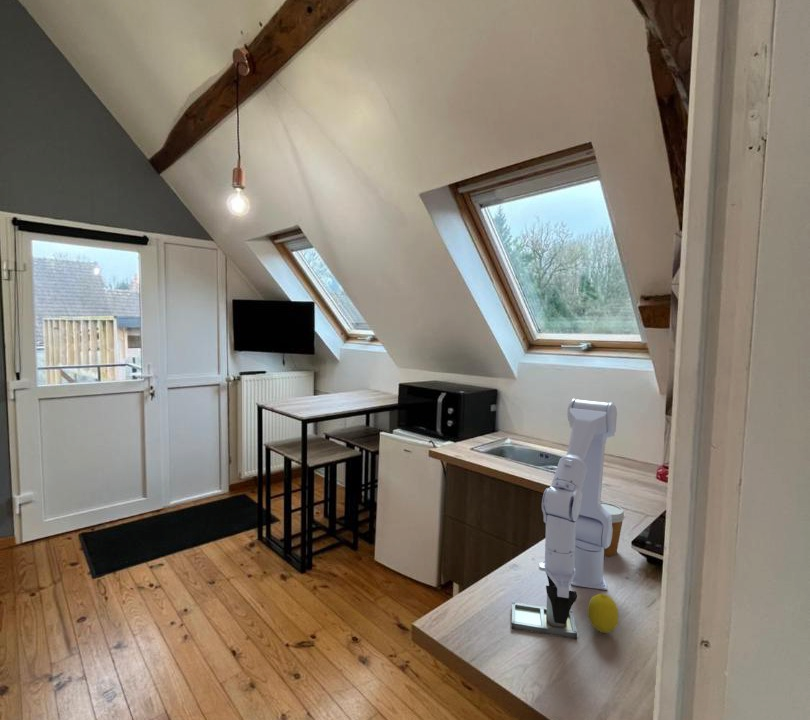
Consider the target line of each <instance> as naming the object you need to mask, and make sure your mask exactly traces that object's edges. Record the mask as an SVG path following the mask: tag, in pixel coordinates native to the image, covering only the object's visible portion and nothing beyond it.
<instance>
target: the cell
mask: <svg viewBox="0 0 810 720" xmlns="http://www.w3.org/2000/svg"><path fill="white" fill-rule="evenodd" d="M554 587H556V586H554ZM546 607H547V612H546V622H547V624H548V625H549V626H551V627H554V628H560V629H563V628H565V627H566V626H567V622H566V624H560V623H555V621H554V617H553V610H552V604H551V601H550V599H549V597H548V595H547V594H546Z"/></svg>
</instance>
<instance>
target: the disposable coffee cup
mask: <svg viewBox="0 0 810 720" xmlns="http://www.w3.org/2000/svg"><path fill="white" fill-rule="evenodd" d="M600 504H601V506H602V507H603V508H604V509H605V510H606V511H608V512H609V513H610V515H611V517H612V528H613V532H612V540H611V544H610V546H609V547H608V548H606V549H605V548H604V556H606V557H607V556H608V557H609V556H611V557H613V556H616V555H617V552H618V547H619V542H620V536H621V532H622V526H623V521H624V519H625V517H626V514H625V512H624V509H623V508H622V507H621V506H619V505H618V504H617V505H616V504H614V503H611V502H606V501H601V502H600Z"/></svg>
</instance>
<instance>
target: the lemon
mask: <svg viewBox="0 0 810 720" xmlns="http://www.w3.org/2000/svg"><path fill="white" fill-rule="evenodd" d="M587 614H588V615H587V616H588V619H589V623H591V625H592V626H593V627H594V629H596V630H598V631H600V633H602V634H604V633H610V632H613V631H614V630H615V629H616V627H617V625H618V624H619V610H618V607H617V604H616V603H615V601H614V600H613V599H612V597H610V596H608V595H607V594H605V593H597V594H595V595H593V596H592V597H591V598H590V601H589V603H588V608H587Z"/></svg>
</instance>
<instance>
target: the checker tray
mask: <svg viewBox="0 0 810 720" xmlns="http://www.w3.org/2000/svg"><path fill="white" fill-rule="evenodd" d="M546 612H547V606H542V605H539V606H538V605H534V604H527V603H526V604H525V603H520V602H511V629H513V630H519V631H524V632H531V633H535V634H536V633H537V634H544V635H549V636H555V637H560V638H561V637H562V638H567V639H572V640H573V639H574V640H578V631H577V627H576V621H575V617H574V613H573V611H572V610H570V611H569V615H568V619H567V626H566V627H565V628H563V629H560V628H554V627H551V626H549V625H548V624H547V622H546Z"/></svg>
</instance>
